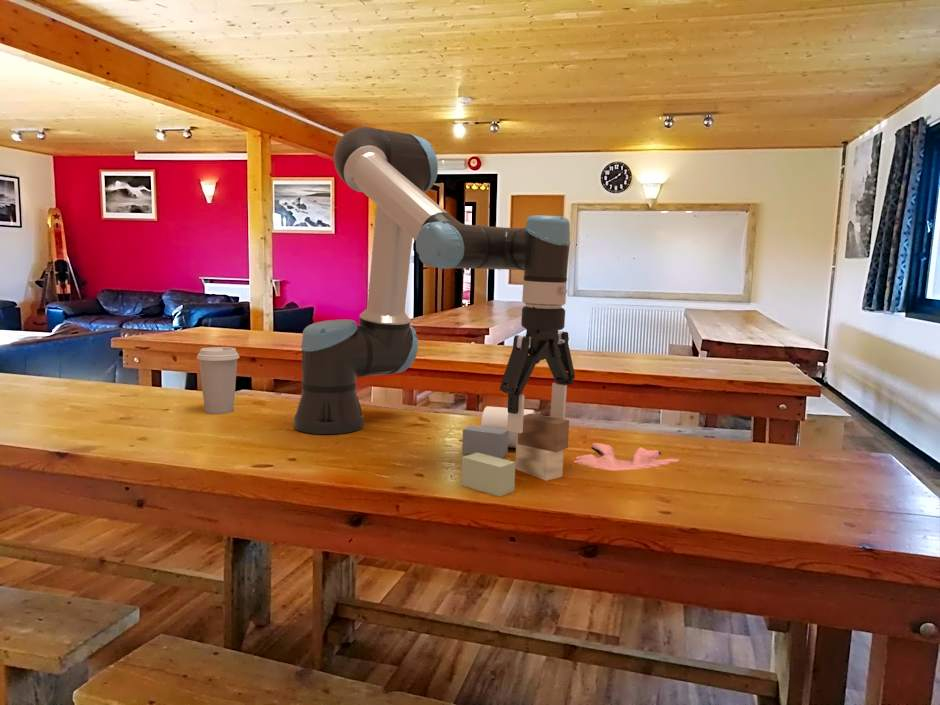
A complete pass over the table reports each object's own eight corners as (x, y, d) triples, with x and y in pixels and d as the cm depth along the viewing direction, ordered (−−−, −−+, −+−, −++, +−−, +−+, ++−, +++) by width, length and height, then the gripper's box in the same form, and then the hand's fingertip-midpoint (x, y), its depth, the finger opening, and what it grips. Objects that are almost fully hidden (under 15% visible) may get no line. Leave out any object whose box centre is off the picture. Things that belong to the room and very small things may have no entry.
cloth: (562, 468, 127) (562, 455, 127) (584, 441, 148) (585, 430, 147) (675, 483, 120) (676, 470, 120) (682, 452, 141) (683, 441, 140)
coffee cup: (232, 416, 158) (230, 352, 156) (191, 414, 158) (189, 351, 156) (245, 407, 167) (245, 347, 166) (207, 406, 168) (206, 346, 166)
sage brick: (461, 486, 114) (462, 457, 113) (476, 480, 117) (477, 452, 116) (499, 497, 109) (500, 467, 108) (514, 491, 112) (515, 462, 111)
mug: (528, 454, 134) (530, 414, 133) (479, 449, 136) (480, 410, 135) (537, 439, 145) (539, 402, 144) (492, 435, 148) (493, 399, 147)
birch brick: (515, 469, 124) (516, 442, 123) (531, 465, 126) (532, 439, 126) (545, 480, 118) (547, 452, 117) (562, 477, 120) (563, 449, 119)
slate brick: (462, 454, 133) (462, 429, 132) (469, 449, 136) (470, 425, 136) (500, 459, 130) (501, 434, 129) (507, 454, 133) (508, 429, 133)
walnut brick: (517, 444, 122) (518, 416, 121) (529, 439, 125) (530, 413, 125) (556, 452, 117) (558, 424, 117) (567, 447, 120) (569, 420, 120)
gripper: (519, 310, 106) (513, 442, 109) (598, 305, 125) (590, 417, 128) (482, 306, 111) (477, 432, 114) (563, 302, 130) (556, 410, 133)
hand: (537, 425), depth 121 cm, fingers open, 13 cm apart
